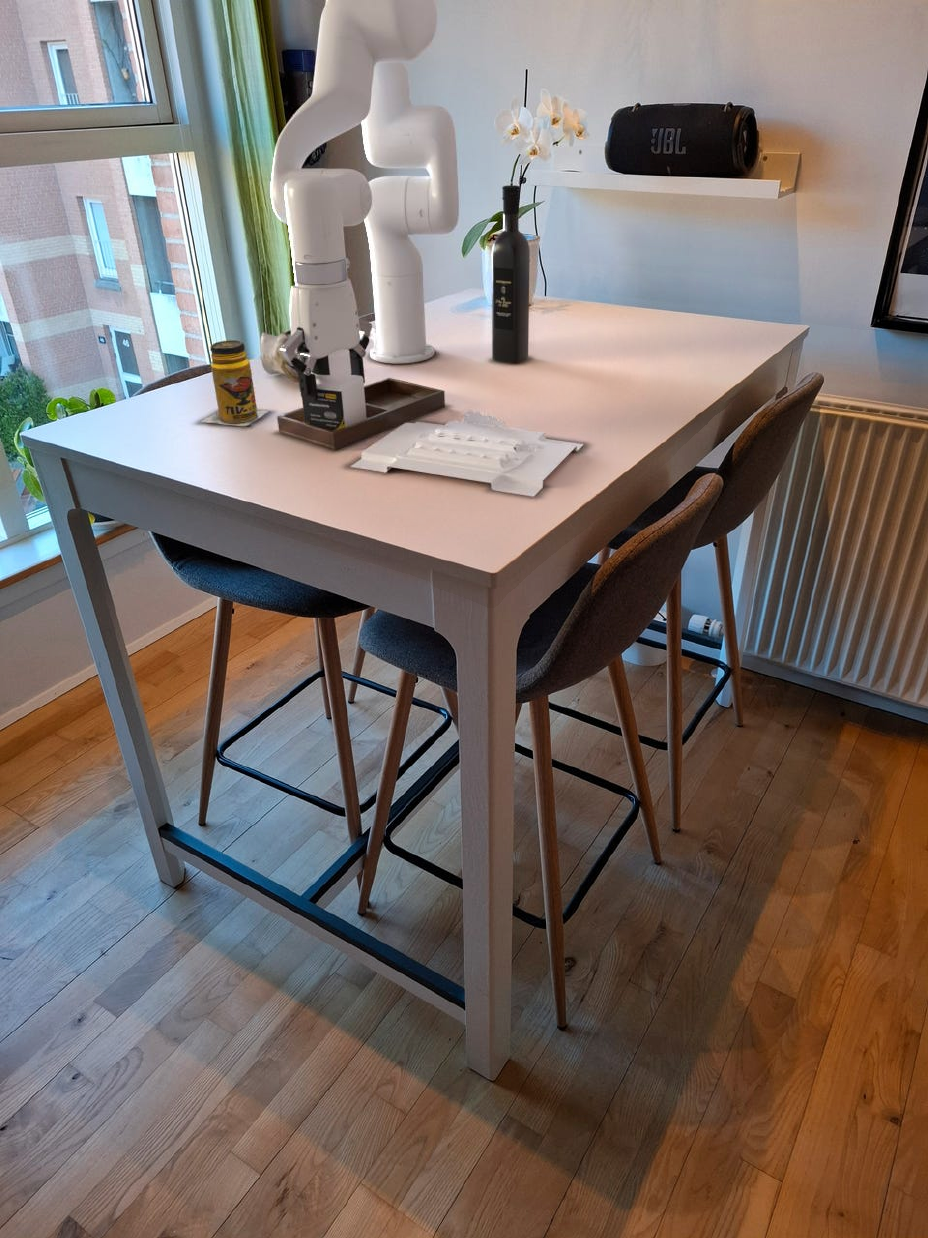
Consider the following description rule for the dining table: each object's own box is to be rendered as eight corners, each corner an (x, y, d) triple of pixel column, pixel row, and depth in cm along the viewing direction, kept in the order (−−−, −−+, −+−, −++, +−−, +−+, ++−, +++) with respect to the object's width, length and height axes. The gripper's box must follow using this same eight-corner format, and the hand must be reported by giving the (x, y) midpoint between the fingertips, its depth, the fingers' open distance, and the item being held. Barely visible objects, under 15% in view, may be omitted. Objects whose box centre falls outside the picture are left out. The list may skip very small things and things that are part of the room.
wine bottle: (516, 364, 166) (518, 188, 151) (490, 361, 169) (488, 187, 153) (530, 357, 170) (532, 184, 155) (504, 353, 173) (504, 183, 157)
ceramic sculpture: (281, 317, 165) (343, 331, 159) (286, 362, 170) (345, 378, 164) (239, 330, 158) (302, 346, 151) (245, 377, 163) (306, 395, 156)
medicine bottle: (305, 430, 136) (295, 351, 130) (328, 415, 142) (320, 339, 136) (345, 435, 134) (337, 355, 128) (367, 420, 140) (361, 343, 133)
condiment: (246, 427, 140) (234, 350, 134) (200, 422, 143) (186, 347, 136) (268, 412, 146) (258, 338, 140) (223, 408, 149) (211, 335, 142)
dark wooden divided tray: (279, 432, 138) (276, 416, 136) (390, 392, 154) (389, 377, 152) (335, 450, 131) (333, 432, 129) (445, 406, 147) (444, 390, 145)
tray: (534, 496, 115) (534, 469, 113) (350, 474, 126) (346, 449, 124) (584, 443, 130) (584, 419, 128) (416, 427, 141) (414, 405, 139)
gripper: (346, 259, 134) (357, 372, 143) (256, 280, 123) (273, 401, 132) (382, 265, 130) (390, 380, 139) (291, 287, 119) (307, 410, 128)
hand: (333, 390), depth 135 cm, fingers open, 9 cm apart
